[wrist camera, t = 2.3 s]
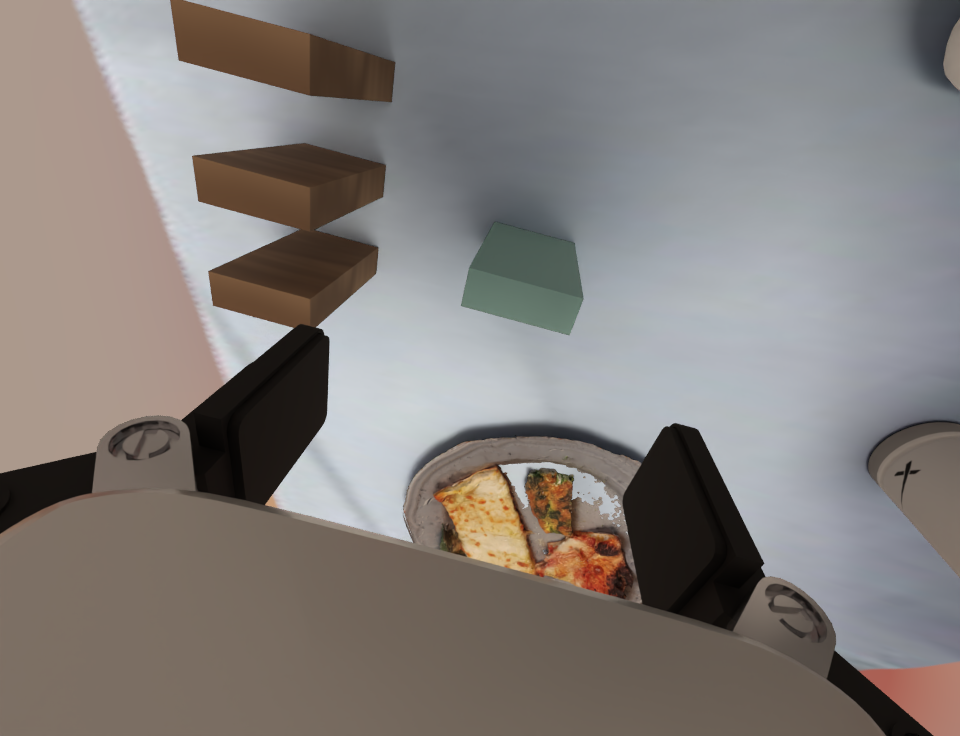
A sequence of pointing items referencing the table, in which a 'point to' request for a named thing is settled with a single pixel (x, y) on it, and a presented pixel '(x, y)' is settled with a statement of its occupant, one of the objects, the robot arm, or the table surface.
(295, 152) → the domino
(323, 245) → the domino
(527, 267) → the domino
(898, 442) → the travel mug
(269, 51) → the domino
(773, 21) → the table surface
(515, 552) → the food plate
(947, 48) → the white knot
